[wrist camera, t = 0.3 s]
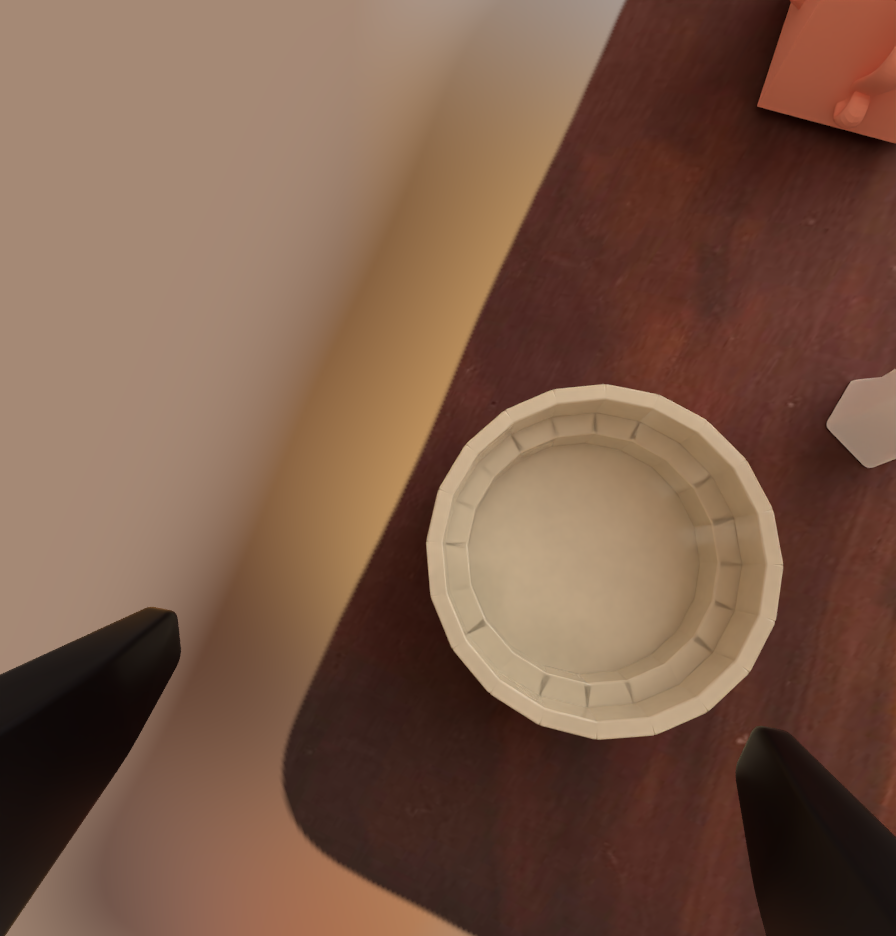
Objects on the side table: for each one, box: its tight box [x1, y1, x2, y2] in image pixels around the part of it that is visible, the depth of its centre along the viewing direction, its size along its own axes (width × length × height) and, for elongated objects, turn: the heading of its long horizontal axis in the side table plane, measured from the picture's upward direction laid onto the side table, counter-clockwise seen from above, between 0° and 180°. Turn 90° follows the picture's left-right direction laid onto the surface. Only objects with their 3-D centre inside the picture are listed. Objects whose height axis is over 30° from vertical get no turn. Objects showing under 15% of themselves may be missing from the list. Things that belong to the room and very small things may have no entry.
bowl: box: [426, 384, 783, 740], centre depth 22 cm, size 12×12×4 cm
